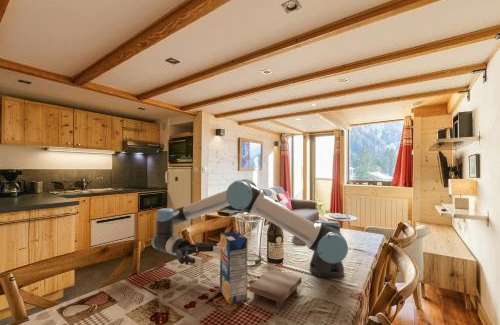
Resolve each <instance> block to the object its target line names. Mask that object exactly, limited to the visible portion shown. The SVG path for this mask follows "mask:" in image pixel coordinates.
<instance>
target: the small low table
mask: <svg viewBox="0 0 500 325" xmlns="http://www.w3.org/2000/svg"><path fill="white" fill-rule="evenodd" d="M301 284H302V277H301V276H297V275H294V274H291V273H286V272H283V271H280V270H275V269H272V268H271V269H270V270H269V271H268V272H266V273H264V274H263V275H261V277H259V278H258V279H257V280H255V281H254V282H252V283H251V284H249V287H248V289H249V291H248V292H250V293H253V299H254V301H260V298H261V297H260V296H262V297H264V298H267V299H269V300H273V301H275V304H276V307H275V308H276V309H279V310H281V309H283V303H284V301H285V300H287V298H288V297H290V295H291V294H292V293H297V292H298V287H299V286H300V285H301Z"/></svg>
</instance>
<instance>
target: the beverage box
mask: <svg viewBox="0 0 500 325" xmlns="http://www.w3.org/2000/svg"><path fill="white" fill-rule="evenodd" d="M248 241H249V240H248V237H246V236H244V234H243V233H241V232H239V231H238V230H236V231H225V232H220V247H221V249H220V254H219V256H220V257H219V258H220V259H219V260H220V262H219V271H220V273H219V290H220V293H222V295H223V297H224V298H225V300H226V302H227V303H228V305H231V304H236V303H239V302H244V301H247V300H248V245H249V244H248Z"/></svg>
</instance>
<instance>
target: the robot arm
mask: <svg viewBox="0 0 500 325" xmlns="http://www.w3.org/2000/svg"><path fill="white" fill-rule="evenodd" d="M229 206H230V207H232V208H233V209H235V210H242V211H244V212H246V213H247V214H248V215H253V214H255V215H258V216H260V217H261V218H263V219H265V220H266V221H269V222H270V223H271V224H273V225H276V226H277V227H278V228H281V229H282V230H284V231H286V232H287V233H288V234H290V235H292V236H296V237H297V238H299V239H301V240H303V241H304V242H306V244H305V246H306V248H308V249H309V250H311V251H312V252H313V254H312V256H311V259H310V262H309V271H310V272H311V273H312V274H314V275H316V276H319V277H323V278H326V279H327V278H328V279H336V278H338V279H339V278H340V277H343V276H344V275H345V267H344V264H343V261H344V260H345V258H346V257H347V256H348V253H349V252H348V251H349V247H348V242H347V240H346V238H345V236H343V234H342V233H341V223H340V222H339V221H336V220H335V221H334V220H320V219H319V220H314V222H313V221H311V220H309V219H307V218H305V217H304V216H302V215H300V214H299V213H297V212H295V211H293V210H292V209H289V208H288V207H286V206H284V205H283V204H281V203H279V202H277V201H275V200H274V199H272V198H270V197H268V196H267V195H265V193H264V190H263V189H261V188H259V187H258V186H257V185H256V183H255V182H254V181H252V180H251V179H238V180H234V181H233V182H232V183H230V184H229V185H228V187H227V190H224V191H222V192H221V191H220V192H218V193H215V194H213V195H210V196H208V197H205V198H202V199H200V200H197V201H195V202H194V201H193V202H192V203H189V204H185V205H183V206H181V207H178V208H175V209H173V208H170V207H169V208H167V207H166V208H165V207H163V208H159V209H158V210H157V211H156V234H154V235H153V237H152V239H151V242H150V243H151V245H152V248H154V249H155V250H157V251H159V252H163V253H167V254H171V255H173V257H174V258H176V259H177V261H178V263H179V264H180V265H186V266H189V264H193V265H195V266H199V267H200V268H201V267H203V263H204V262H203V261H204V258H202V257H198V256H196V255H193V254H200V252H201V253H203V252H204V253H205V252H213V253H214V254H217V255H220V249H221V246H218V243H215V242H214V243H212V242H210V243H209V242H208V243H207V242H199V241H197V242H195V243H196V244H195V243H191V242H190V240H188V239H186V238H182V237H178V236H174V227H175V226H176V225H179V224H181V223H184V222H187V221H190V220H192V219H195V218H198V217H201V216H203V215H206V214H210V213H211V212H215V211H217V210H220V209H223V208H227V207H229Z"/></svg>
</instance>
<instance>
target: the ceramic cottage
mask: <svg viewBox="0 0 500 325" xmlns="http://www.w3.org/2000/svg"><path fill="white" fill-rule="evenodd" d="M291 241H292V243H293V244H294V245H298V246H299V245H302V246H303V245H305V246H306V242H304V241H303V240H301V239H299V238H297V237H296V236H294V235H292V239H291Z"/></svg>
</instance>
